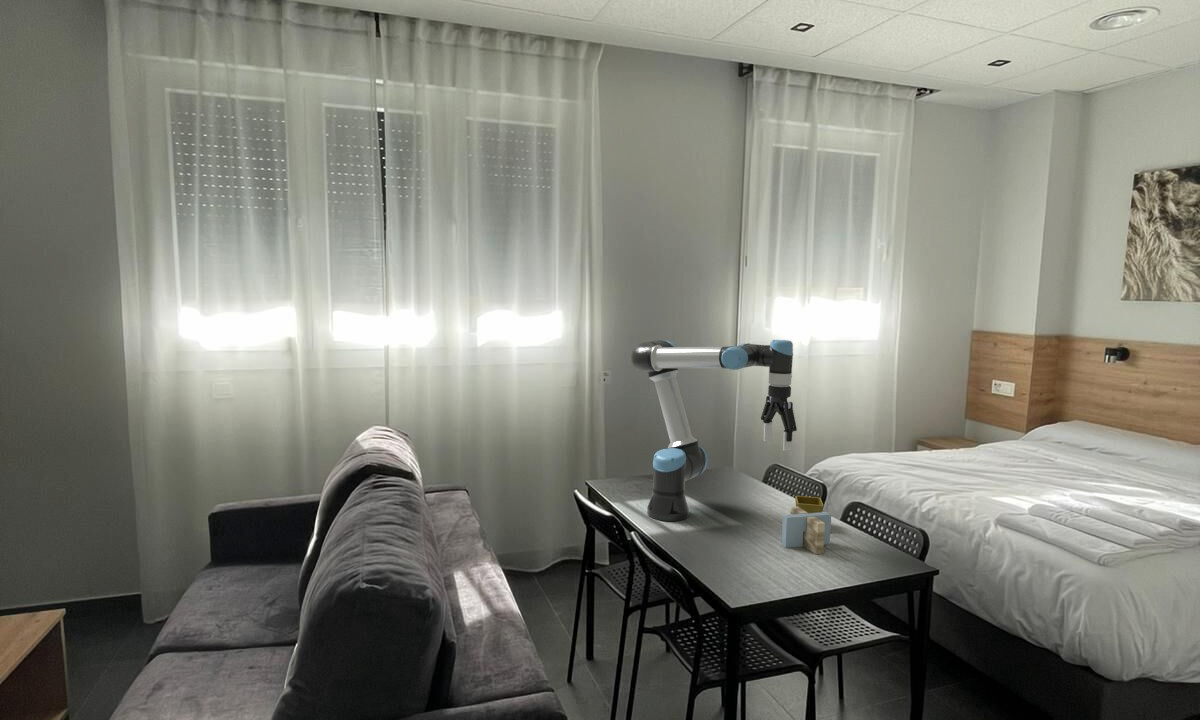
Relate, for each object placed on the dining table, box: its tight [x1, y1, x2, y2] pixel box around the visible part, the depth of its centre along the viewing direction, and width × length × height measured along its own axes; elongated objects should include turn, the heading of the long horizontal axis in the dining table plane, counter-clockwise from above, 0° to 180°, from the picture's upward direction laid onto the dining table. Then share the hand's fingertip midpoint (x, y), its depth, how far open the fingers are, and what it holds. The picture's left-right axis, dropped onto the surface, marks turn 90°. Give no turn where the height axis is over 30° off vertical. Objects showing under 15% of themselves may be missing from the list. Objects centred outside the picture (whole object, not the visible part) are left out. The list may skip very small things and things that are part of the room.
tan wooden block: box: [790, 506, 825, 555], centre depth 212 cm, size 16×2×10 cm, turn 14°
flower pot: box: [795, 495, 824, 513], centre depth 230 cm, size 9×9×9 cm
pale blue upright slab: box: [781, 511, 832, 549], centre depth 212 cm, size 16×2×10 cm, turn 104°
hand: (777, 445), depth 226 cm, fingers open, 13 cm apart
